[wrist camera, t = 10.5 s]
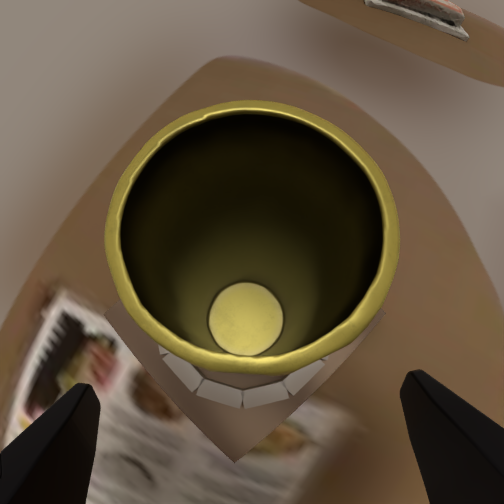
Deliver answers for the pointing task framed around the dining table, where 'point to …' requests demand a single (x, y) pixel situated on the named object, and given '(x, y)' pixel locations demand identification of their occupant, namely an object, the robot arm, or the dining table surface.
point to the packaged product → (427, 13)
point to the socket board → (215, 413)
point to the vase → (252, 238)
